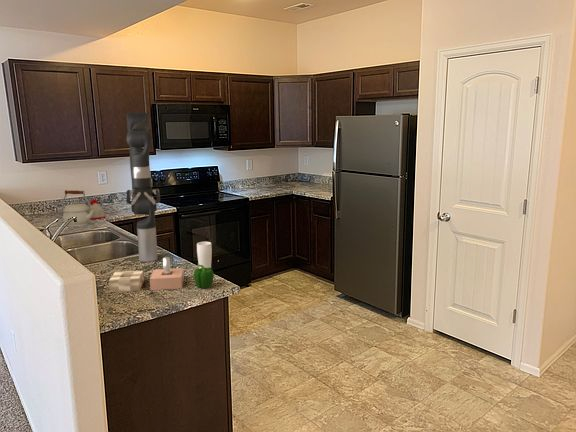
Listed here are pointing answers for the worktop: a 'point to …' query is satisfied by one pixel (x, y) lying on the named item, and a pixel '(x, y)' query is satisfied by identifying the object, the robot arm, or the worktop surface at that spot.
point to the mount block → (126, 281)
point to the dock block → (167, 279)
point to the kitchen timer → (96, 210)
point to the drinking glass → (204, 254)
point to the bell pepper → (203, 277)
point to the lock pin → (166, 266)
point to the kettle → (77, 211)
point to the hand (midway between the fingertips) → (144, 212)
